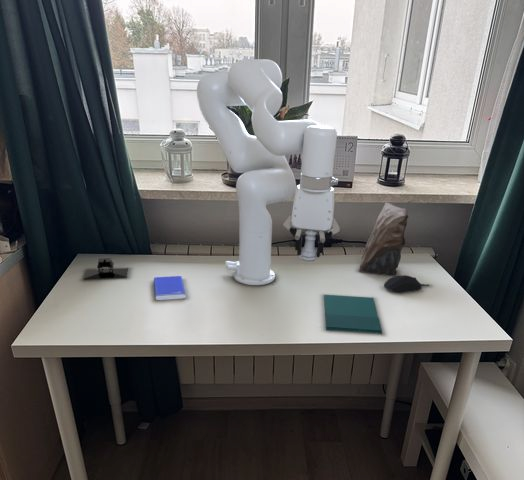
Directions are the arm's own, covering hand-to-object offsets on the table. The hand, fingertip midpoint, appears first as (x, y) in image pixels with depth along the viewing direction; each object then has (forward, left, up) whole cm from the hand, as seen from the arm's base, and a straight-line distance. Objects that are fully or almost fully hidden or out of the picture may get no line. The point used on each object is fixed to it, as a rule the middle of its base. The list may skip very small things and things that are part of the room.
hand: (308, 253), depth 130 cm
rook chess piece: (0, 0, -2) cm, 2 cm away
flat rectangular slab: (+13, 0, -16) cm, 20 cm away
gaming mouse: (+29, +21, -16) cm, 39 cm away
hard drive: (-39, +2, -16) cm, 42 cm away
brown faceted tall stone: (+20, +34, -16) cm, 42 cm away
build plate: (-61, +8, -16) cm, 64 cm away
